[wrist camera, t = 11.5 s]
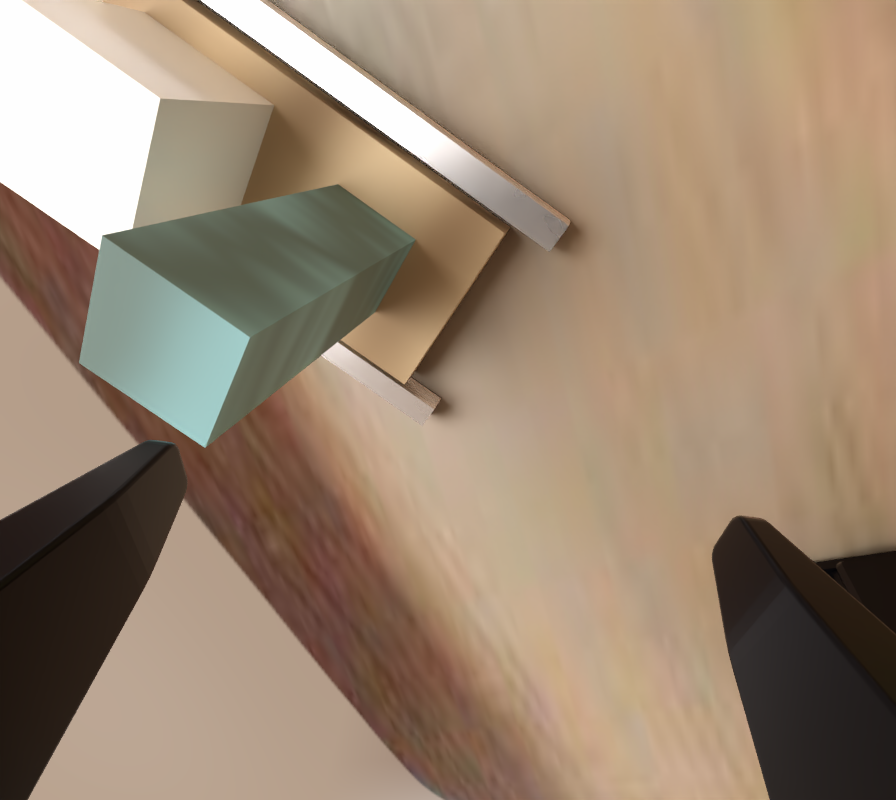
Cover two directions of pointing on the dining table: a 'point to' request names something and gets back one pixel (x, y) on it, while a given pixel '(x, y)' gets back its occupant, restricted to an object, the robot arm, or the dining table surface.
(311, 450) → the dining table surface
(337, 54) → the lane rails
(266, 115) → the cube
